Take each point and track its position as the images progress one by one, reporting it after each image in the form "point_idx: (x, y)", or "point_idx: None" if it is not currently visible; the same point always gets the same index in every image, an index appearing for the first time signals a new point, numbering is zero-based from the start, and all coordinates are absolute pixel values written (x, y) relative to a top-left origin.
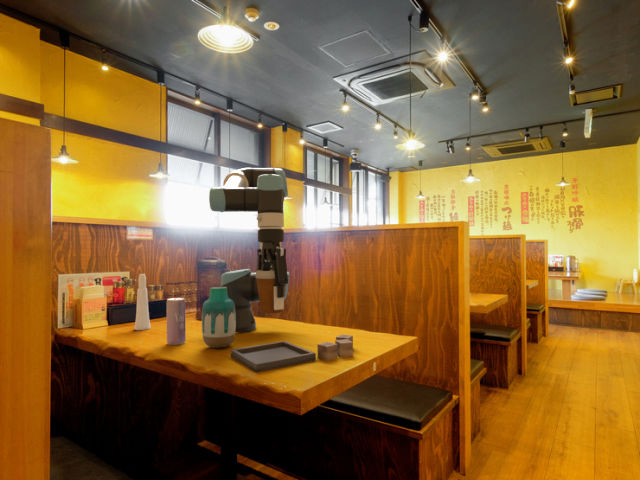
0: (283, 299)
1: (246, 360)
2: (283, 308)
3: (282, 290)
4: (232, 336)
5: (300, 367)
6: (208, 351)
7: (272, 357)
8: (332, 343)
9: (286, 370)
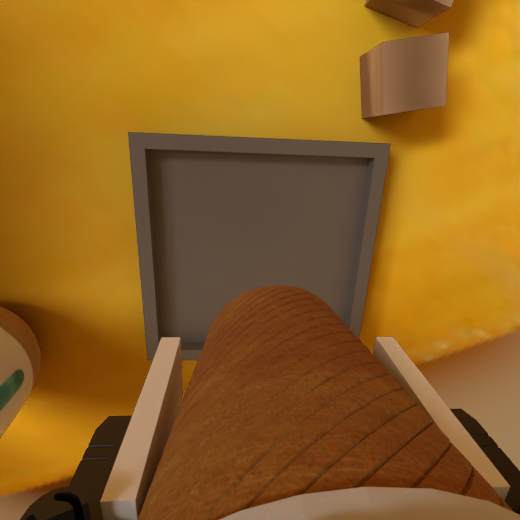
0: (427, 382)
1: None
2: (393, 341)
3: (509, 471)
4: (13, 330)
5: (400, 230)
6: (43, 379)
7: (278, 266)
8: (423, 42)
9: (391, 276)
